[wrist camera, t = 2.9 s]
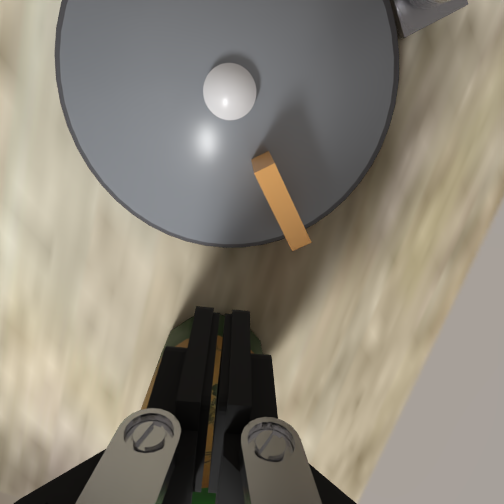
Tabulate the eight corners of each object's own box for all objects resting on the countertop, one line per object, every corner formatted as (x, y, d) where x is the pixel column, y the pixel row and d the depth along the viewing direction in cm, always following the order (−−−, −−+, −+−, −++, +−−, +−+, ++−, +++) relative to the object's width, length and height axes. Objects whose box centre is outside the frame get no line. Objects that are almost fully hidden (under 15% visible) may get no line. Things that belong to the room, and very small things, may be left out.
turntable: (-1, 7, 22) (-72, -16, 17) (313, -191, 19) (341, -289, 14) (175, 277, 29) (162, 319, 24) (422, 161, 26) (466, 180, 21)
